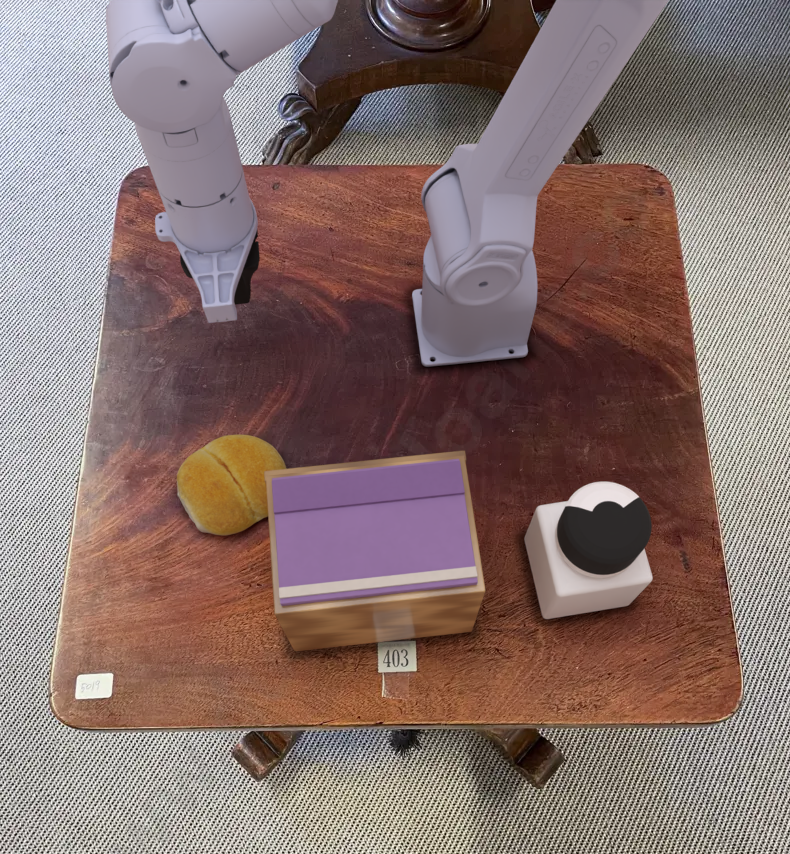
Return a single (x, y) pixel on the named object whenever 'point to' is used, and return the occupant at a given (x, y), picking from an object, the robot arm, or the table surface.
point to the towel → (372, 532)
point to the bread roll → (227, 483)
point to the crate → (382, 612)
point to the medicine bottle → (589, 550)
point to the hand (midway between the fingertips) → (236, 297)
